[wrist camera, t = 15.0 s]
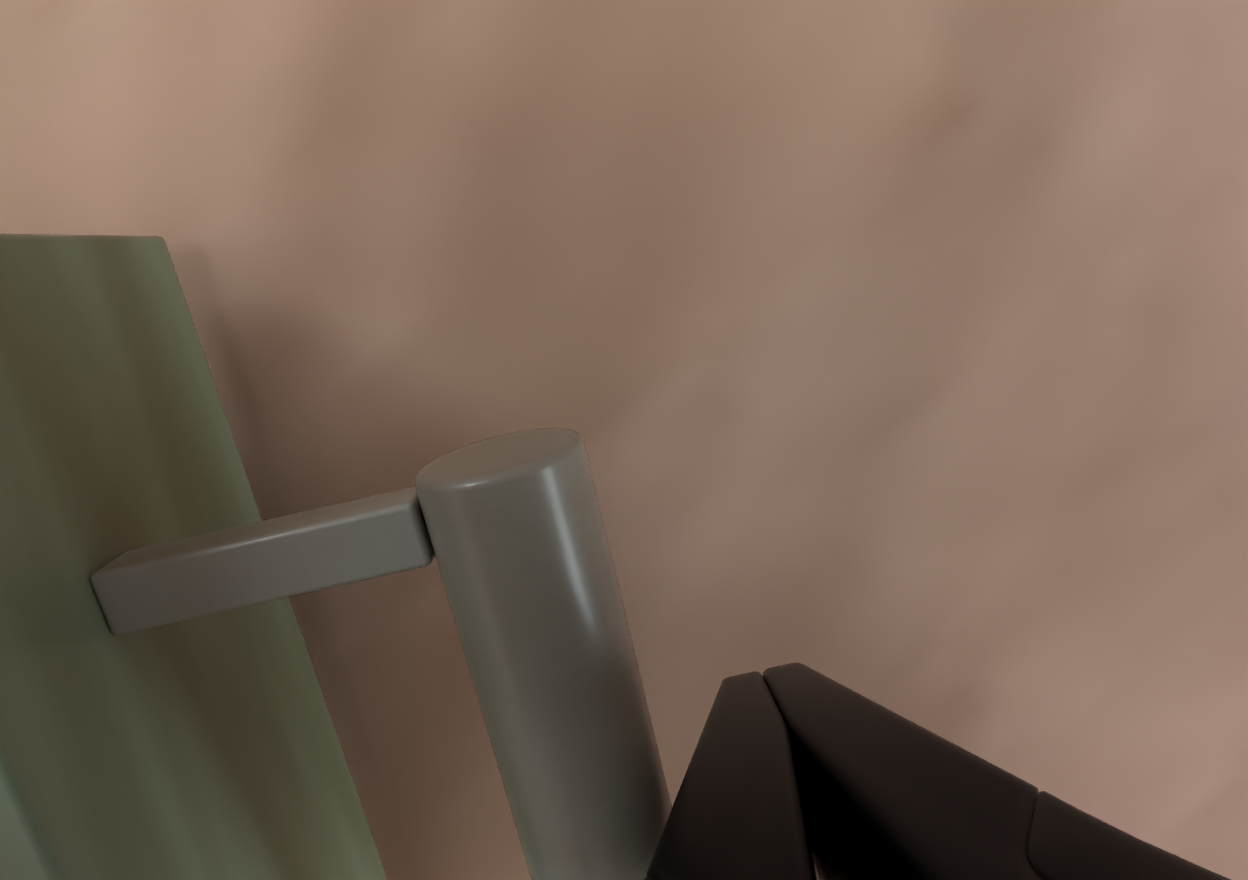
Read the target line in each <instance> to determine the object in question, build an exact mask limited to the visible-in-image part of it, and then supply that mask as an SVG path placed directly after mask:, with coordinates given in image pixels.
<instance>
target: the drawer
mask: <svg viewBox="0 0 1248 880" xmlns="http://www.w3.org/2000/svg"><path fill="white" fill-rule="evenodd" d="M434 556H436V559H437V563H438V566H439V569H440V573H441V576H442V580H443V583H444V586H445V590H446V593H447V596H448V600H449V603H450V606H451V610H452V613H453V617H454V620H455V623H456V627H457V630H458V633H459V637H460V640H461V643H462V647H463V650H464V654H465V657H466V660H467V664H468V667H469V670H470V674H471V677H472V680H473V684H474V687H475V691H476V694H477V697H478V701H479V704H480V707H481V711H482V714H483V717H484V721H485V724H486V727H487V731H488V734H489V738H490V741H491V744H492V748H493V751H494V754H495V758H496V761H497V764H498V768H499V771H500V775H501V778H502V781H503V785H504V788H505V791H506V795H507V798H508V801H509V805H510V808H511V812H512V815H513V818H514V822H515V825H516V828H517V832H518V835H519V838H520V842H521V845H522V849H523V852H524V855H525V859H526V862H527V865H528V869H529V872H530V875H531V879H532V880H644V879H645V878H646V873H647V870H648V868H649V865H650V863H651V860H652V858H653V855H654V853H655V850H656V848H657V845H658V843H659V840H660V838H661V835H662V833H663V830H664V827H665V825H666V822H667V820H668V817H669V815H670V812H671V810H672V805H671V801H670V797H669V793H668V789H667V784H666V780H665V776H664V772H663V768H662V764H661V760H660V755H659V751H658V747H657V743H656V739H655V735H654V731H653V726H652V722H651V718H650V714H649V710H648V706H647V702H646V697H645V693H644V689H643V685H642V681H641V677H640V673H639V668H638V664H637V660H636V656H635V652H634V648H633V644H632V639H631V635H630V631H629V627H628V623H627V619H626V615H625V610H624V606H623V602H622V598H621V594H620V590H619V586H618V581H617V577H616V573H615V569H614V565H613V561H612V557H611V552H610V548H609V544H608V540H607V536H606V532H605V528H604V523H603V519H602V515H601V511H600V507H599V503H598V499H597V494H596V490H595V486H594V482H593V478H592V474H591V470H590V465H589V461H588V457H587V453H586V449H585V445H584V441H583V439H582V438H581V437H580V435H579V434H578V433H577V432H575V431H573V430H569V429H560V428H542V429H532V430H525V431H519V432H514V433H509V434H504V435H500V436H496V437H492V438H489V439H485V440H482V441H478V442H475V443H472V444H469V445H466V446H464V447H461V448H458V449H456V450H453V451H451V452H449V453H447V454H444V455H442V456H440V457H439V458H437V459H435V460H433V461H432V462H430V463H429V464H427V465H426V466H425V467H423V468H422V469H421V470H420V471H419V472H418V473H417V475H416V481H415V486H414V487H409V488H405V489H401V490H396V491H392V492H387V493H383V494H378V495H374V496H369V497H365V498H361V499H356V500H352V501H347V502H343V503H338V504H334V505H330V506H325V507H321V508H316V509H312V510H307V511H303V512H299V513H294V514H290V515H285V516H281V517H276V518H272V519H268V520H263V521H262V518H261V515H260V512H259V509H258V506H257V504H256V501H255V498H254V495H253V492H252V489H251V486H250V483H249V481H248V478H247V475H246V472H245V469H244V466H243V463H242V461H241V458H240V455H239V452H238V449H237V446H236V443H235V440H234V438H233V435H232V432H231V429H230V426H229V423H228V420H227V417H226V415H225V412H224V409H223V406H222V403H221V400H220V397H219V395H218V392H217V389H216V386H215V383H214V380H213V377H212V374H211V372H210V369H209V366H208V363H207V360H206V357H205V354H204V352H203V349H202V346H201V343H200V340H199V337H198V334H197V331H196V329H195V326H194V323H193V320H192V317H191V314H190V311H189V308H188V306H187V303H186V300H185V297H184V294H183V291H182V288H181V286H180V283H179V280H178V277H177V274H176V271H175V268H174V265H173V263H172V260H171V257H170V254H169V251H168V248H167V245H166V242H165V241H164V239H163V238H162V237H158V236H111V235H50V234H0V880H388V879H387V876H386V874H385V871H384V868H383V865H382V862H381V859H380V856H379V854H378V851H377V848H376V845H375V842H374V839H373V836H372V833H371V831H370V828H369V825H368V822H367V819H366V816H365V813H364V811H363V808H362V805H361V802H360V799H359V796H358V793H357V790H356V788H355V785H354V782H353V779H352V776H351V773H350V770H349V767H348V765H347V762H346V759H345V756H344V753H343V750H342V747H341V745H340V742H339V739H338V736H337V733H336V730H335V727H334V724H333V722H332V719H331V716H330V713H329V710H328V707H327V704H326V701H325V699H324V696H323V693H322V690H321V687H320V684H319V681H318V679H317V676H316V673H315V670H314V667H313V664H312V661H311V658H310V656H309V653H308V650H307V647H306V644H305V641H304V638H303V636H302V633H301V630H300V627H299V624H298V621H297V618H296V615H295V613H294V610H293V607H292V604H291V601H290V598H289V597H291V596H296V595H300V594H305V593H309V592H314V591H318V590H322V589H327V588H331V587H336V586H340V585H345V584H349V583H354V582H358V581H363V580H367V579H372V578H376V577H380V576H385V575H389V574H394V573H398V572H403V571H407V570H412V569H416V568H421V567H425V566H428V565H429V564H430V563H431V562H432V560H433V558H434Z"/></svg>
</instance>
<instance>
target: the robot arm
mask: <svg viewBox="0 0 1248 880" xmlns="http://www.w3.org/2000/svg"><path fill="white" fill-rule="evenodd" d="M644 880H1230V879H1228V878H1226V877H1223V876H1221V875H1219V874H1216V873H1214V872H1211V871H1209V870H1207V869H1205V868H1202V867H1200V866H1198V865H1196V864H1193V863H1191V862H1189V861H1187V860H1185V859H1182V858H1180V857H1178V856H1176V855H1173V854H1171V853H1169V852H1167V851H1164V850H1162V849H1160V848H1158V847H1155V846H1153V845H1151V844H1149V843H1146V842H1144V841H1142V840H1140V839H1138V838H1136V837H1134V836H1132V835H1130V834H1127V833H1125V832H1123V831H1121V830H1119V829H1117V828H1115V827H1113V826H1111V825H1109V824H1107V823H1105V822H1103V821H1101V820H1099V819H1097V818H1095V817H1093V816H1091V815H1089V814H1087V813H1085V812H1083V811H1081V810H1079V809H1077V808H1075V807H1073V806H1072V805H1070V804H1068V803H1066V802H1064V801H1062V800H1060V799H1058V798H1056V797H1054V796H1053V795H1051V794H1049V793H1047V792H1044V791H1041V792H1039V791H1038V789H1037V788H1036V787H1035V786H1033V785H1031V784H1029V783H1027V782H1025V781H1023V780H1022V779H1020V778H1018V777H1016V776H1014V775H1012V774H1010V773H1008V772H1006V771H1004V770H1003V769H1001V768H999V767H997V766H995V765H993V764H991V763H989V762H987V761H985V760H984V759H982V758H980V757H978V756H976V755H974V754H972V753H970V752H968V751H966V750H965V749H963V748H961V747H959V746H957V745H955V744H953V743H951V742H949V741H947V740H946V739H944V738H942V737H940V736H938V735H936V734H934V733H932V732H930V731H928V730H927V729H925V728H923V727H921V726H919V725H917V724H915V723H913V722H911V721H909V720H908V719H906V718H904V717H902V716H900V715H898V714H896V713H894V712H892V711H890V710H889V709H887V708H885V707H883V706H881V705H879V704H877V703H875V702H873V701H871V700H870V699H868V698H866V697H864V696H862V695H860V694H858V693H856V692H854V691H852V690H851V689H849V688H847V687H845V686H843V685H841V684H839V683H837V682H835V681H833V680H832V679H830V678H828V677H826V676H824V675H822V674H820V673H818V672H816V671H814V670H813V669H811V668H809V667H807V666H805V665H803V664H801V663H791V664H786V665H782V666H777V667H772V668H768V669H766V670H765V671H764V672H763V675H761V674H760V673H759V672H750V673H745V674H740V675H736V676H731V677H727V678H725V679H724V680H723V681H722V684H721V686H720V688H719V691H718V694H717V696H716V699H715V701H714V704H713V706H712V709H711V711H710V714H709V716H708V719H707V721H706V724H705V726H704V729H703V731H702V734H701V736H700V739H699V742H698V744H697V747H696V749H695V752H694V754H693V757H692V759H691V762H690V764H689V767H688V769H687V772H686V774H685V777H684V779H683V782H682V785H681V787H680V790H679V792H678V795H677V797H676V800H675V802H674V805H673V807H672V810H671V812H670V815H669V817H668V820H667V822H666V825H665V827H664V830H663V833H662V835H661V838H660V840H659V843H658V845H657V848H656V850H655V853H654V855H653V858H652V860H651V863H650V865H649V868H648V870H647V873H646V878H645V879H644Z"/></svg>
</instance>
